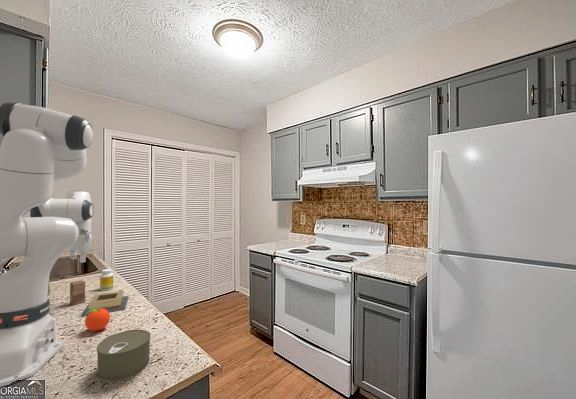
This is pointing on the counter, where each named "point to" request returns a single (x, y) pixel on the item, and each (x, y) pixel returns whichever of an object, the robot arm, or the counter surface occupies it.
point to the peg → (77, 292)
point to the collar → (107, 302)
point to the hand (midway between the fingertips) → (78, 260)
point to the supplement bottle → (106, 280)
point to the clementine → (97, 319)
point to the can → (123, 355)
